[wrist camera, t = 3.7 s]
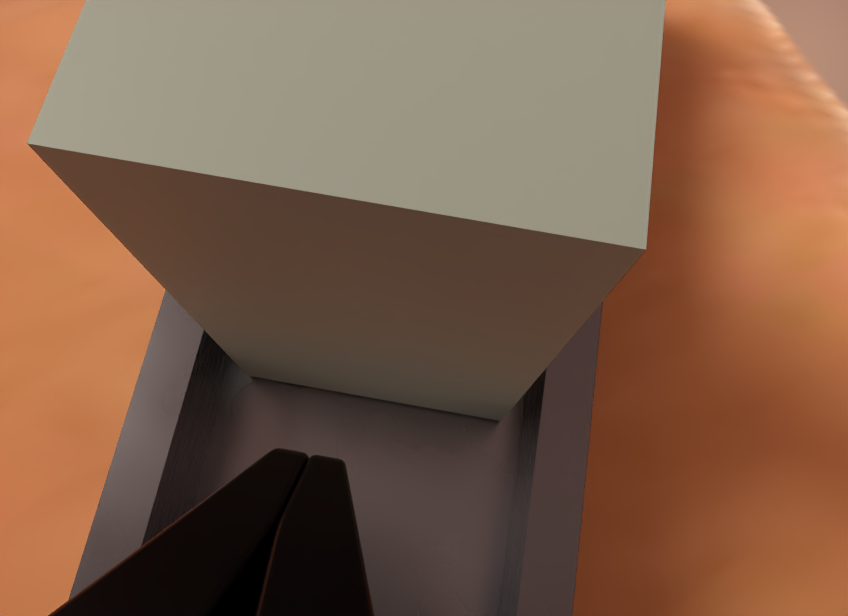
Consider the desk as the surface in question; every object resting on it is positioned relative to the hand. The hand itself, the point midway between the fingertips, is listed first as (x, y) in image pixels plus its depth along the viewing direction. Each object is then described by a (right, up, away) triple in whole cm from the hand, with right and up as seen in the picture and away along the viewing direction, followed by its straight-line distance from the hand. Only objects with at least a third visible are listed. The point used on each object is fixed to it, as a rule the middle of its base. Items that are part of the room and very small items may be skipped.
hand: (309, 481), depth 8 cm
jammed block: (+1, +2, +9) cm, 9 cm away
